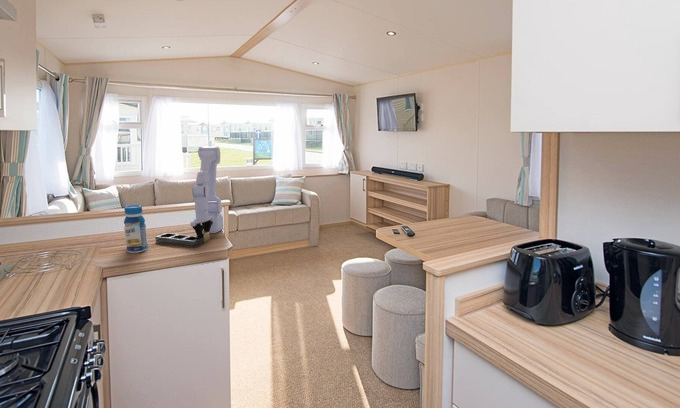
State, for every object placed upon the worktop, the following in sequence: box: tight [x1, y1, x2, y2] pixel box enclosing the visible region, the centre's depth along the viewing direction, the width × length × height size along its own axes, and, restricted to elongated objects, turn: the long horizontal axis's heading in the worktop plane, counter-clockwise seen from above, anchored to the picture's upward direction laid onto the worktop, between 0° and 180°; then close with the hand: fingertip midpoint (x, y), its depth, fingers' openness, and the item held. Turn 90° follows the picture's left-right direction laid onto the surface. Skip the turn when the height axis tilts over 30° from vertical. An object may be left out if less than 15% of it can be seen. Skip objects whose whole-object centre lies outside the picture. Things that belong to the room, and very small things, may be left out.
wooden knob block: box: [203, 231, 211, 243], centre depth 188 cm, size 4×4×4 cm
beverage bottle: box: [123, 204, 148, 254], centre depth 170 cm, size 8×8×20 cm
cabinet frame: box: [155, 232, 205, 249], centre depth 183 cm, size 7×22×3 cm, turn 71°
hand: (203, 237), depth 188 cm, fingers open, 4 cm apart
